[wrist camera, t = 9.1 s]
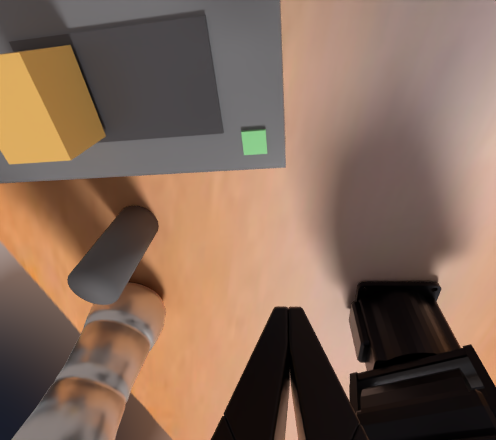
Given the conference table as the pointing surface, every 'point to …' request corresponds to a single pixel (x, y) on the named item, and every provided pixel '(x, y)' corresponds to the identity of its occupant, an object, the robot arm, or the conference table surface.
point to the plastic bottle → (99, 370)
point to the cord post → (114, 257)
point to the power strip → (163, 83)
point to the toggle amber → (45, 107)
